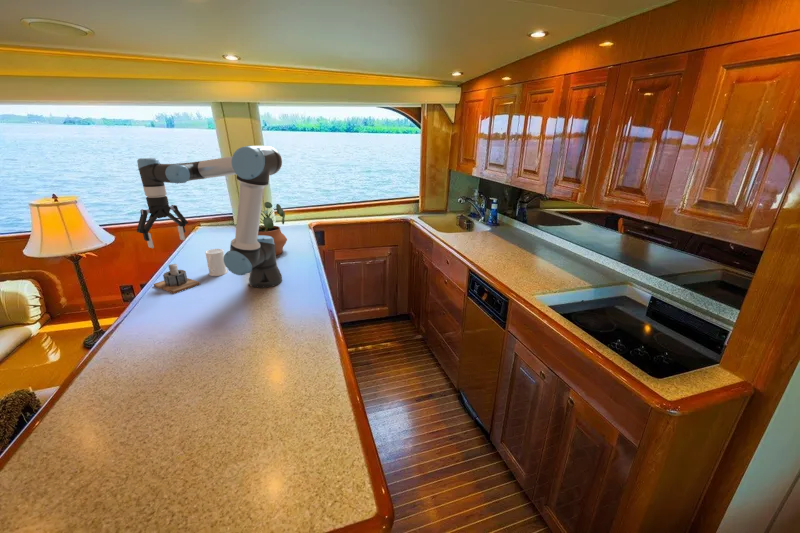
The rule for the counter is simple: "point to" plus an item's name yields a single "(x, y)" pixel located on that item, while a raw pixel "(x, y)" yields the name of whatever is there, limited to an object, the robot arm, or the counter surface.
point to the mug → (216, 262)
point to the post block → (176, 289)
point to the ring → (175, 278)
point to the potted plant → (273, 228)
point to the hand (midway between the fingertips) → (167, 243)
